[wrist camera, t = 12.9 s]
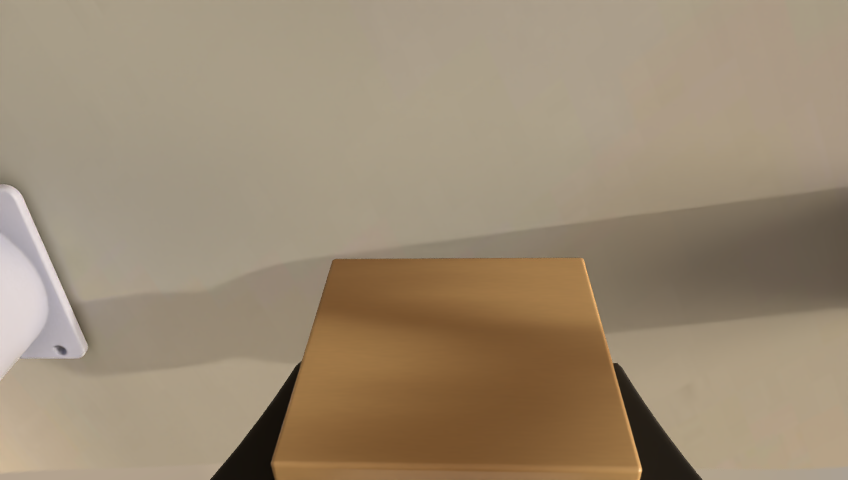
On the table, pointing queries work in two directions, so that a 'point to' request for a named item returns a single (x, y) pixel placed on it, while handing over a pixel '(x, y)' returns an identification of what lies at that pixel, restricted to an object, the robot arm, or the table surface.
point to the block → (456, 376)
